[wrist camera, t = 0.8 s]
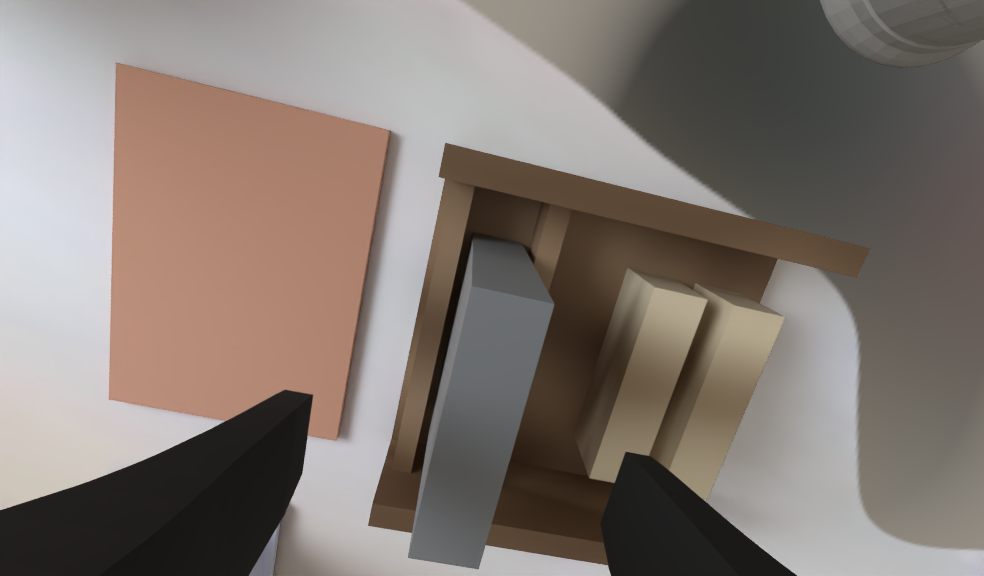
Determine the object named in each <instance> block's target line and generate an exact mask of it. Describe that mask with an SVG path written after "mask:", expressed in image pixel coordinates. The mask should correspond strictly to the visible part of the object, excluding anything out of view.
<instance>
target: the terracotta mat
mask: <svg viewBox="0 0 984 576" xmlns="http://www.w3.org/2000/svg"><path fill="white" fill-rule="evenodd" d="M390 133H391V131H390V130H386V129H382V128H378V127H373V126H369V125H365V124H361V123H357V122H353V121H349V120H345V119H341V118H337V117H333V116H329V115H325V114H321V113H317V112H313V111H309V110H305V109H301V108H297V107H293V106H289V105H285V104H281V103H277V102H273V101H269V100H265V99H261V98H257V97H253V96H248V95H244V94H240V93H236V92H232V91H228V90H224V89H220V88H216V87H212V86H208V85H204V84H200V83H196V82H192V81H188V80H184V79H180V78H176V77H172V76H168V75H164V74H160V73H156V72H152V71H148V70H144V69H140V68H136V67H132V66H128V65H123V64H119V63H116V93H115V139H114V186H113V232H112V279H111V325H110V372H109V400H115V401H120V402H126V403H131V404H137V405H142V406H148V407H153V408H159V409H164V410H170V411H175V412H181V413H186V414H192V415H197V416H203V417H208V418H214V419H219V420H225V421H227V420H229V419H231V418H233V417H235V416H236V415H238V414H240V413H242V412H244V411H246V410H248V409H250V408H251V407H253V406H255V405H257V404H259V403H260V402H262V401H264V400H266V399H268V398H270V397H271V396H273V395H275V394H277V393H279V392H281V391H283V390H290V391H296V392H301V393H307V394H312V395H313V401H312V408H311V415H310V422H309V429H308V436H313V437H319V438H324V439H330V440H335V441H336V440H337V438H338V436H339V431H340V425H341V419H342V413H343V407H344V401H345V396H346V390H347V384H348V378H349V372H350V366H351V361H352V355H353V349H354V343H355V337H356V331H357V326H358V320H359V314H360V308H361V302H362V296H363V290H364V285H365V279H366V273H367V267H368V261H369V255H370V250H371V244H372V238H373V232H374V226H375V220H376V215H377V209H378V203H379V197H380V191H381V185H382V179H383V174H384V168H385V162H386V156H387V150H388V144H389V139H390Z"/></svg>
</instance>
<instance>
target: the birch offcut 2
mask: <svg viewBox="0 0 984 576" xmlns="http://www.w3.org/2000/svg"><path fill="white" fill-rule="evenodd" d="M693 291H695V292H697V293H698V294H700V295H702V296H703V297H705V298H706V299H708V301H707V303H706V306H705V308H704V311H703V314H702V316H701V319H700V322H699V324H698V327H697V330H696V332H695V335H694V338H693V340H692V343H691V346H690V348H689V351H688V353H687V356H686V359H685V361H684V364H683V367H682V369H681V372H680V375H679V377H678V380H677V383H676V385H675V388H674V391H673V393H672V396H671V399H670V401H669V404H668V406H667V409H666V412H665V414H664V417H663V420H662V422H661V425H660V428H659V430H658V433H657V436H656V438H655V441H654V444H653V446H652V449H651V451H650V454H649V456H651V457H652V458H654V459H655V460H656V461H658V462H659V463H660V464H662V465H663V466H664V467H665V468H667V469H668V470H669V471H670V472H672V473H673V474H674V475H675V476H676V477H678V478H679V479H680V480H681V481H682V482H683V483H684V484H686V485H687V486H688V487H689V488H690V489H691V490H693V491H694V492H695V493H696V494H697V495H698V496H699V497H701V498H702V499H706V500H707V499H708V497H709V494H710V492H711V490H712V487H713V485H714V483H715V480H716V478H717V476H718V473H719V471H720V469H721V466H722V464H723V462H724V459H725V457H726V455H727V452H728V450H729V448H730V445H731V443H732V441H733V438H734V436H735V434H736V431H737V429H738V427H739V424H740V422H741V420H742V417H743V415H744V413H745V410H746V408H747V406H748V403H749V401H750V399H751V396H752V394H753V392H754V389H755V387H756V385H757V382H758V380H759V378H760V375H761V373H762V371H763V368H764V366H765V364H766V361H767V359H768V357H769V354H770V352H771V350H772V347H773V345H774V343H775V340H776V338H777V336H778V333H779V331H780V329H781V326H782V324H783V322H784V319H785V317H784V316H782V315H780V314H779V313H777V312H775V311H773V310H771V309H769V308H767V307H765V306H763V305H761V304H759V303H757V302H755V301H753V300H752V299H750V298H748V297H746V296H744V295H742V294H740V293H736V292H732V291H727V290H723V289H719V288H714V287H710V286H706V285H701V284H697V283H695V286H694V289H693Z"/></svg>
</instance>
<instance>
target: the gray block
mask: <svg viewBox="0 0 984 576" xmlns="http://www.w3.org/2000/svg"><path fill="white" fill-rule="evenodd" d="M553 308H554V302H553V300H552V298H551V297H550V295H549V293H548V291H547V289H546V287H545V285H544V284H543V282H542V280H541V278H540V276H539V274H538V272H537V270H536V269H535V267H534V265H533V263H532V261H531V259H530V257H529V256H528V254H527V252H526V250H525V248H524V246H523V244H522V243H520V242H515V241H511V240H507V239H502V238H498V237H494V236H489V235H485V234H481V233H476V232H473V235H472V239H471V243H470V248H469V252H468V257H467V261H466V265H465V270H464V274H463V278H462V283H461V287H460V292H459V296H458V300H457V305H456V309H455V313H454V318H453V322H452V327H451V331H450V335H449V340H448V344H447V349H446V353H445V357H444V362H443V366H442V370H441V375H440V379H439V384H438V388H437V392H436V397H435V401H434V405H433V411H432V417H431V423H430V429H429V435H428V441H427V447H426V453H425V459H424V465H423V471H422V477H421V483H420V489H419V495H418V501H417V507H416V513H415V519H414V525H413V531H412V537H411V543H410V549H409V555H408V558H412V559H418V560H425V561H431V562H437V563H443V564H450V565H456V566H462V567H468V568H475V569H479V566H480V562H481V559H482V555H483V552H484V548H485V545H486V541H487V538H488V534H489V531H490V527H491V524H492V520H493V517H494V513H495V510H496V506H497V503H498V499H499V496H500V492H501V489H502V486H503V482H504V479H505V475H506V472H507V468H508V465H509V461H510V458H511V454H512V451H513V447H514V444H515V440H516V437H517V433H518V430H519V426H520V423H521V419H522V416H523V412H524V409H525V405H526V402H527V398H528V395H529V391H530V388H531V384H532V381H533V377H534V374H535V371H536V367H537V364H538V360H539V357H540V353H541V350H542V346H543V343H544V339H545V336H546V332H547V329H548V325H549V322H550V318H551V315H552V311H553Z"/></svg>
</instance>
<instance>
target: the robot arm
mask: <svg viewBox="0 0 984 576" xmlns="http://www.w3.org/2000/svg"><path fill="white" fill-rule="evenodd" d="M312 401H313V395H312V394H307V393H301V392H296V391H290V390H283V391H281V392H279V393H277V394H275V395H273V396H271V397H270V398H268V399H266V400H264V401H262V402H260V403H259V404H257V405H255V406H253V407H251V408H250V409H248V410H246V411H244V412H242V413H240V414H238V415H236V416H235V417H233V418H231V419H229V420H227V421H225V422H223V423H221V424H219V425H218V426H216V427H214V428H212V429H210V430H208V431H206V432H204V433H202V434H199V435H197V436H195V437H193V438H191V439H189V440H187V441H185V442H182V443H180V444H178V445H176V446H174V447H172V448H170V449H168V450H166V451H163V452H161V453H159V454H157V455H155V456H152V457H150V458H148V459H145V460H143V461H141V462H138V463H136V464H133V465H131V466H128V467H126V468H123V469H121V470H118V471H115V472H113V473H110V474H108V475H105V476H102V477H100V478H97V479H94V480H92V481H89V482H86V483H83V484H81V485H78V486H75V487H72V488H69V489H65V490H62V491H59V492H56V493H53V494H50V495H47V496H44V497H41V498H37V499H34V500H31V501H28V502H25V503H22V504H19V505H16V506H13V507H9V508H6V509H3V510H0V576H273V573H274V566H275V559H276V552H277V545H278V538H279V531H280V524H281V520H282V518H283V516H284V514H285V512H286V509H287V507H288V505H289V503H290V500H291V498H292V496H293V494H294V491H295V489H296V487H297V484H298V482H299V480H300V477H301V475H302V471H303V464H304V457H305V450H306V443H307V436H308V429H309V422H310V415H311V408H312ZM601 529H602V535H603V541H604V546H605V552H606V556H607V561H608V566H609V570H610V573H611V576H797V575H795V574H794V573H793V572H791V571H790V570H789V569H787V568H786V567H785V566H783V565H782V564H781V563H779V562H778V561H777V560H776V559H774V558H773V557H772V556H771V555H769V554H768V553H767V552H765V551H764V550H763V549H762V548H760V547H759V546H758V545H757V544H755V543H754V542H753V541H752V540H750V539H749V538H748V537H747V536H745V535H744V534H743V533H742V532H741V531H739V530H738V529H737V528H736V527H735V526H733V525H732V524H731V523H730V522H729V521H727V520H726V519H725V518H724V517H723V516H721V515H720V514H719V513H718V512H717V511H716V510H714V509H713V508H712V507H711V506H710V505H709V504H708V503H706V502H705V501H704V500H703V499H702V498H701V497H699V496H698V495H697V494H696V493H695V492H694V491H693V490H691V489H690V488H689V487H688V486H687V485H686V484H684V483H683V482H682V481H681V480H680V479H679V478H678V477H676V476H675V475H674V474H673V473H672V472H670V471H669V470H668V469H667V468H665V467H664V466H663V465H662V464H660V463H659V462H658V461H656V460H655V459H654V458H652V457H651V456H647V455H641V454H636V453H630V452H625V455H624V458H623V460H622V463H621V466H620V469H619V472H618V475H617V478H616V480H615V483H614V486H613V489H612V492H611V495H610V497H609V500H608V503H607V506H606V509H605V512H604V515H603V517H602V520H601Z"/></svg>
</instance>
